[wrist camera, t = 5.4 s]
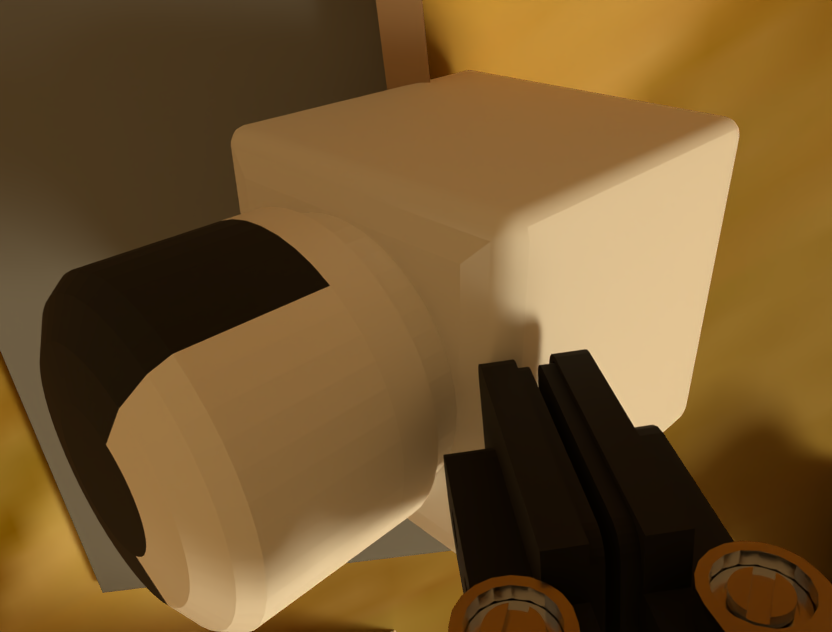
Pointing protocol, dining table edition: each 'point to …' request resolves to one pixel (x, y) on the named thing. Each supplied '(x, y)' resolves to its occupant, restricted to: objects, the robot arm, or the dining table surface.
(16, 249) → the tipping mat
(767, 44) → the dining table surface
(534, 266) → the medicine bottle
